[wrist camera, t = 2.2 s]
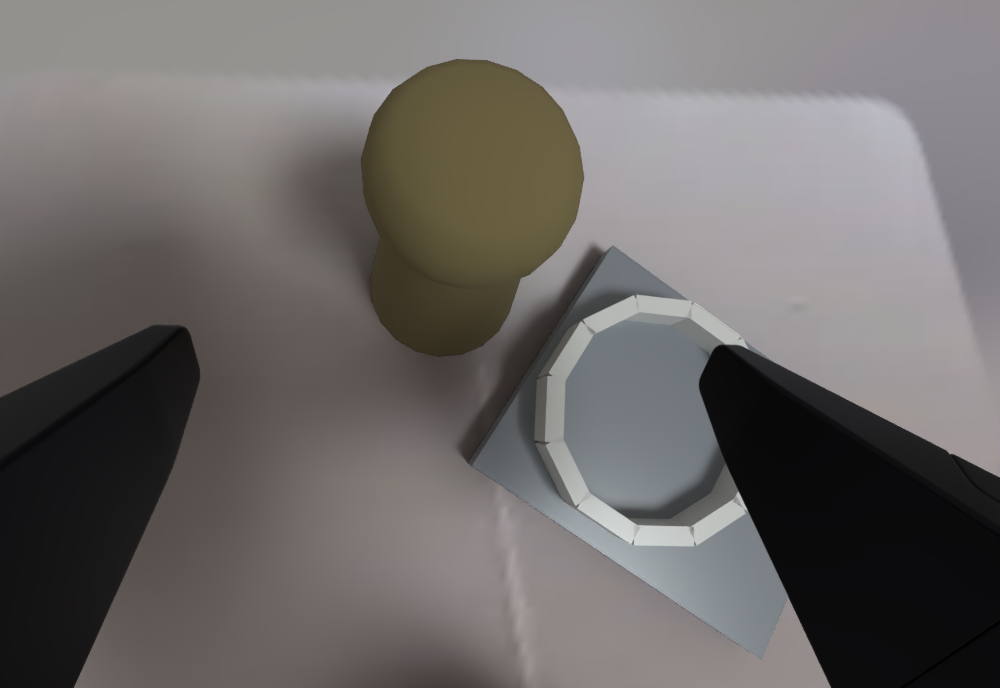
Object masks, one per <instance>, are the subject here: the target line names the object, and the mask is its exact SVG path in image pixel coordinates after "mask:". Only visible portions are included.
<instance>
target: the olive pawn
mask: <svg viewBox="0 0 1000 688" xmlns="http://www.w3.org/2000/svg"><path fill="white" fill-rule="evenodd" d="M361 167H362V180H363V193H364V198H365V202H366V206H367V208H368V210H369V213H370V215H371V217H372V220H373V222H374V224H375V226H376V229H377V231H378V233H379V236H380V239H379V243H378V247H377V252H376V256H375V260H374V264H373V268H372V272H371V277H370V286H371V299H372V303H373V305H374V308H375V310H376V312H377V315H378V317H379V319H380V322H381V323H382V324H383V325H384V326H385V328H386V329H387V330H388V331H389V332H390V333H391V334H392V335H393V336H394V338H395V339H396V340H398V341H400V342H401V343H403V344H405V345H406V346H408V347H410V348H412V349H413V350H415V351H417V352H421V353H426V354H430V355H435V356H450V355H461V354H464V353H466V352H469V351H471V350H473V349H476V348H478V347H480V346H483V345H484V344H485V343H486V342H487V341H488V340H489V339H490V338H492V337H493V336H494V335H495V334H496V333H497V332H498V331H499V330H500V328H501V326H502V324H503V323H504V321H505V319H506V317H507V316H508V314H509V312H510V309H511V306H512V303H513V300H514V297H515V294H516V291H517V288H518V285H519V282H520V279H521V278H522V277H525V276H527V275H530V274H531V273H532V272H533V271H534V270H536V269H537V268H538V267H539V266H540V265H541V264H543V263H544V262H545V261H546V260H547V259H548V258H549V257H551V256H552V255H553V254H554V253H555V252H556V251H557V250H558V249H559V248H560V246H561V245H562V243H563V241H564V239H565V238H566V236H567V234H568V232H569V231H570V229H571V227H572V225H573V224H574V222H575V220H576V217H577V213H578V209H579V203H580V198H581V192H582V187H583V181H584V173H583V166H582V159H581V153H580V146H579V144H578V141H577V139H576V137H575V134H574V132H573V130H572V128H571V126H570V124H569V122H568V120H567V118H566V116H565V113H564V111H563V110H562V108H561V107H560V106H559V105H558V104H557V103H556V102H555V101H554V99H553V98H552V97H551V96H550V95H549V94H548V93H547V91H546V90H545V89H544V88H543V87H542V86H540V85H539V84H537V83H536V82H534V81H533V80H531V79H529V78H528V77H526V76H525V75H523V74H522V73H520V72H519V71H517V70H515V69H512V68H509V67H506V66H502V65H499V64H496V63H493V62H490V61H487V60H463V59H456V60H452V61H448V62H444V63H441V64H437V65H433V66H430V67H426V68H425V69H423V70H421V71H420V72H418V73H417V74H415V75H414V76H412V77H411V78H409V79H408V80H406V81H405V82H403V83H402V84H400V85H399V86H397V87H396V88H394V89H393V90H392V91H391V93H390V94H389V95H388V97H387V98H386V99H385V101H384V102H383V103H382V105H381V106H380V107H379V109H378V110H377V112H376V113H375V114H374V116H373V119H372V122H371V125H370V128H369V132H368V135H367V139H366V143H365V146H364V150H363V153H362V157H361Z"/></svg>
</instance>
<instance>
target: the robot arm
mask: <svg viewBox="0 0 1000 688" xmlns="http://www.w3.org/2000/svg"><path fill="white" fill-rule="evenodd" d="M199 380H200V368H199V364H198V361H197V357H196V353H195V350H194V346H193V343H192V339H191V335H190V333H189V331H188V330H187V328H185V327H184V326H181V325H153V326H150V327H148V328H146V329H144V330H142V331H140V332H138V333H136V334H134V335H131V336H129V337H127V338H125V339H123V340H121V341H119V342H117V343H115V344H112V345H110V346H108V347H106V348H104V349H102V350H100V351H98V352H96V353H93V354H91V355H89V356H87V357H85V358H83V359H81V360H79V361H77V362H74V363H72V364H70V365H68V366H66V367H64V368H62V369H60V370H57V371H55V372H53V373H51V374H49V375H47V376H45V377H43V378H41V379H38V380H36V381H34V382H32V383H30V384H28V385H26V386H24V387H22V388H19V389H17V390H15V391H13V392H11V393H9V394H7V395H5V396H3V397H0V688H74V686H75V684H76V682H77V679H78V677H79V675H80V673H81V670H82V668H83V666H84V664H85V662H86V659H87V657H88V655H89V653H90V651H91V648H92V646H93V644H94V642H95V639H96V637H97V635H98V633H99V631H100V628H101V626H102V624H103V622H104V619H105V617H106V615H107V613H108V611H109V608H110V606H111V604H112V602H113V600H114V597H115V595H116V593H117V591H118V588H119V586H120V584H121V582H122V580H123V577H124V575H125V573H126V571H127V569H128V566H129V564H130V562H131V560H132V557H133V555H134V553H135V551H136V549H137V546H138V544H139V542H140V540H141V538H142V535H143V533H144V531H145V529H146V526H147V524H148V522H149V520H150V518H151V515H152V513H153V511H154V509H155V507H156V504H157V502H158V500H159V498H160V495H161V493H162V491H163V489H164V487H165V484H166V482H167V480H168V477H169V475H170V473H171V470H172V468H173V465H174V462H175V459H176V456H177V453H178V450H179V447H180V444H181V440H182V437H183V434H184V431H185V427H186V424H187V421H188V417H189V414H190V411H191V408H192V404H193V401H194V398H195V394H196V391H197V388H198V385H199ZM699 391H700V394H701V397H702V400H703V403H704V406H705V408H706V411H707V414H708V417H709V420H710V423H711V425H712V428H713V431H714V434H715V437H716V440H717V443H718V445H719V448H720V451H721V454H722V456H723V459H724V461H725V463H726V466H727V468H728V470H729V472H730V475H731V477H732V479H733V481H734V483H735V485H736V487H737V489H738V491H739V494H740V496H741V498H742V500H743V502H744V504H745V506H746V508H747V511H748V513H749V515H750V517H751V519H752V521H753V523H754V525H755V527H756V530H757V532H758V534H759V536H760V538H761V540H762V542H763V544H764V547H765V549H766V551H767V553H768V555H769V557H770V559H771V561H772V564H773V566H774V568H775V570H776V572H777V574H778V576H779V578H780V580H781V583H782V585H783V587H784V589H785V591H786V593H787V595H788V597H789V600H790V602H791V604H792V606H793V608H794V610H795V612H796V614H797V616H798V619H799V621H800V623H801V625H802V627H803V629H804V631H805V633H806V636H807V638H808V640H809V642H810V644H811V646H812V648H813V650H814V653H815V655H816V657H817V659H818V661H819V663H820V665H821V667H822V669H823V672H824V674H825V676H826V678H827V680H828V682H829V684H830V686H831V688H1000V477H998V476H996V475H994V474H992V473H990V472H988V471H986V470H984V469H982V468H980V467H978V466H976V465H974V464H972V463H970V462H968V461H966V460H964V459H962V458H960V457H958V456H956V455H954V454H949V453H948V452H947V451H946V450H944V449H942V448H940V447H938V446H936V445H934V444H932V443H931V442H929V441H927V440H925V439H923V438H921V437H919V436H917V435H915V434H913V433H911V432H909V431H907V430H905V429H903V428H901V427H899V426H897V425H895V424H893V423H891V422H889V421H888V420H886V419H884V418H882V417H880V416H878V415H876V414H874V413H872V412H870V411H868V410H866V409H864V408H862V407H860V406H858V405H856V404H854V403H852V402H850V401H848V400H846V399H845V398H843V397H841V396H839V395H837V394H835V393H833V392H831V391H829V390H827V389H825V388H823V387H821V386H819V385H817V384H815V383H813V382H811V381H809V380H807V379H805V378H804V377H802V376H800V375H798V374H796V373H794V372H792V371H790V370H788V369H786V368H784V367H782V366H780V365H778V364H776V363H774V362H772V361H770V360H768V359H766V358H764V357H762V356H761V355H759V354H757V353H755V352H753V351H751V350H749V349H747V348H745V347H743V346H741V345H729V344H720V345H718V346H716V347H715V348H714V349H713V351H712V353H711V355H710V357H709V359H708V361H707V363H706V366H705V368H704V370H703V372H702V374H701V376H700V379H699Z"/></svg>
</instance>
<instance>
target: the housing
mask: <svg viewBox="0 0 1000 688" xmlns="http://www.w3.org/2000/svg"><path fill="white" fill-rule="evenodd" d="M740 337H741V336H740V335H739V334H738V333H736V332H735V331H733V330H732V329H731V328H729V327H728V326H727V325H725V324H724V323H722V322H721V321H720V320H718V319H717V318H716V317H714V316H713V315H711V314H710V313H709V312H707V311H706V310H705V309H703V308H702V307H700V306H699V305H698V304H696V303H695V302H693V303H692V301H689V300H687V299H686V298H685V297H683V296H682V295H681V294H679V293H678V292H676V291H675V290H674V289H672V288H671V287H670V286H668V285H667V284H665V283H664V282H663V281H661V280H660V279H659V278H657V277H656V276H654V275H653V274H652V273H650V272H649V271H648V270H646V269H645V268H643V267H642V266H641V265H639V264H638V263H637V262H635V261H634V260H632V259H631V258H630V257H628V256H627V255H625V254H624V253H623V252H621V251H620V250H619V249H617V248H616V247H614V246H612V247H610V248H609V249H608V250H607V251H606V252H605V253H603V254H602V255H601V257H600V259H599V260H598V262H597V263H596V265H595V266H594V268H593V269H592V271H591V273H590V274H589V276H588V277H587V279H586V280H585V282H584V283H583V285H582V287H581V288H580V290H579V291H578V293H577V294H576V296H575V297H574V299H573V301H572V302H571V304H570V305H569V307H568V308H567V310H566V311H565V313H564V315H563V316H562V318H561V319H560V321H559V322H558V324H557V325H556V327H555V329H554V330H553V332H552V333H551V335H550V336H549V338H548V339H547V341H546V343H545V344H544V346H543V347H542V349H541V350H540V352H539V353H538V355H537V357H536V358H535V360H534V361H533V363H532V364H531V366H530V367H529V369H528V371H527V372H526V374H525V375H524V377H523V378H522V380H521V381H520V383H519V384H518V386H517V388H516V389H515V391H514V392H513V394H512V395H511V397H510V398H509V400H508V402H507V403H506V405H505V406H504V408H503V409H502V411H501V412H500V414H499V416H498V417H497V419H496V420H495V422H494V423H493V425H492V426H491V428H490V430H489V431H488V433H487V434H486V436H485V437H484V439H483V440H482V442H481V444H480V445H479V447H478V448H477V450H476V451H475V453H474V454H473V456H472V458H471V459H470V461H469V462H468V464H470V465H471V466H473V467H474V468H476V469H477V470H479V471H480V472H482V473H483V474H485V475H486V476H488V477H489V478H491V479H492V480H494V481H495V482H497V483H498V484H500V485H501V486H503V487H504V488H506V489H507V490H509V491H510V492H512V493H513V494H515V495H516V496H518V497H519V498H521V499H522V500H524V501H525V502H527V503H528V504H530V505H531V506H533V507H534V508H536V509H537V510H538V511H540V512H541V513H543V514H544V515H546V516H547V517H549V518H550V519H552V520H553V521H555V522H556V523H558V524H559V525H561V526H562V527H564V528H565V529H567V530H568V531H570V532H571V533H573V534H574V535H576V536H577V537H579V538H580V539H582V540H583V541H585V542H586V543H588V544H589V545H591V546H592V547H594V548H595V549H597V550H598V551H600V552H601V553H603V554H604V555H606V556H607V557H609V558H610V559H612V560H613V561H614V562H616V563H617V564H619V565H620V566H622V567H623V568H625V569H626V570H628V571H629V572H631V573H632V574H634V575H635V576H637V577H638V578H640V579H641V580H643V581H644V582H646V583H647V584H649V585H650V586H652V587H653V588H655V589H656V590H658V591H659V592H661V593H662V594H664V595H665V596H667V597H668V598H670V599H671V600H673V601H674V602H676V603H677V604H679V605H680V606H682V607H683V608H685V609H686V610H688V611H689V612H690V613H692V614H693V615H695V616H696V617H698V618H699V619H701V620H702V621H704V622H705V623H707V624H708V625H710V626H711V627H713V628H714V629H716V630H717V631H719V632H720V633H722V634H723V635H725V636H726V637H728V638H729V639H731V640H732V641H734V642H735V643H737V644H738V645H740V646H741V647H743V648H744V649H746V650H747V651H749V652H750V653H752V654H753V655H755V656H756V657H758V658H759V659H762V657H763V654H764V652H765V650H766V647H767V645H768V643H769V640H770V638H771V636H772V633H773V631H774V629H775V626H776V624H777V622H778V619H779V617H780V615H781V612H782V610H783V608H784V605H785V603H786V601H787V598H788V595H787V593H786V591H785V589H784V587H783V585H782V583H781V580H780V578H779V576H778V574H777V572H776V570H775V568H774V566H773V564H772V561H771V559H770V557H769V555H768V553H767V551H766V549H765V547H764V544H763V542H762V540H761V538H760V536H759V534H758V532H757V530H756V527H755V525H754V523H753V521H752V519H751V517H750V515H749V513H748V511H747V508H746V506H745V504H744V502H743V500H742V498H741V496H740V494H739V491H738V489H737V487H736V485H735V483H734V481H733V479H732V477H731V475H730V472H729V470H728V468H727V466H726V463H725V461H724V459H723V456H722V454H721V451H720V448H719V445H718V443H717V440H716V437H715V434H714V431H713V428H712V425H711V423H710V420H709V417H708V414H707V411H706V408H705V406H704V403H703V400H702V397H701V394H700V391H699V379H700V376H701V374H702V372H703V370H704V368H705V366H706V363H707V361H708V359H709V357H710V355H711V353H712V351H713V349H714V348H715V347H716V346H718V345H720V344H729V345H741V346H743V347H745V348H747V349H749V350H751V351H753V352H755V353H757V354H759V355H761V356H762V357H764V358H766V359H768V360H770V359H769V358H767V357H766V356H765V355H763V354H762V353H760V352H759V351H758V350H756V349H755V348H754V347H752V346H751V345H749V344H748V343H747V342H745V341H744V340H743V338H740ZM770 361H771V360H770ZM772 362H773V361H772Z"/></svg>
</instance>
